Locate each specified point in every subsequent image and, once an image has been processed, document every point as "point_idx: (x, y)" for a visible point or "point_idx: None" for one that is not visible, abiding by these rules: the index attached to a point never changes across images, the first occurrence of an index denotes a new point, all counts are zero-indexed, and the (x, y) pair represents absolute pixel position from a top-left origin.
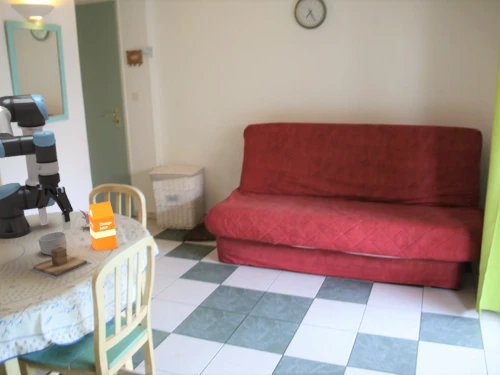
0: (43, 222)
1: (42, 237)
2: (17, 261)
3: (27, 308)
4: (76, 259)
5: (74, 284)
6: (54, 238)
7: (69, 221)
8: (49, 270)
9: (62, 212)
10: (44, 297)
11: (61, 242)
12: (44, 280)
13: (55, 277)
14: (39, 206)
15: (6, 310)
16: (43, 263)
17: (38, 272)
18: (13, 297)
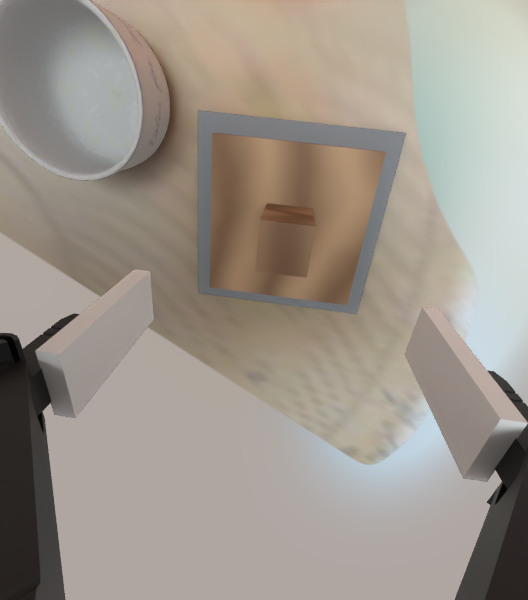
0: (144, 314)
1: (7, 107)
2: (82, 243)
3: (396, 439)
4: (325, 161)
5: (441, 310)
6: (28, 30)
7: (468, 351)
8: (299, 293)
9: (492, 497)
10: (400, 394)
11: (154, 95)
12: (314, 322)
13: (345, 305)
14: (46, 441)
15: (353, 455)
16: (222, 254)
17: (253, 296)
18: (315, 414)
